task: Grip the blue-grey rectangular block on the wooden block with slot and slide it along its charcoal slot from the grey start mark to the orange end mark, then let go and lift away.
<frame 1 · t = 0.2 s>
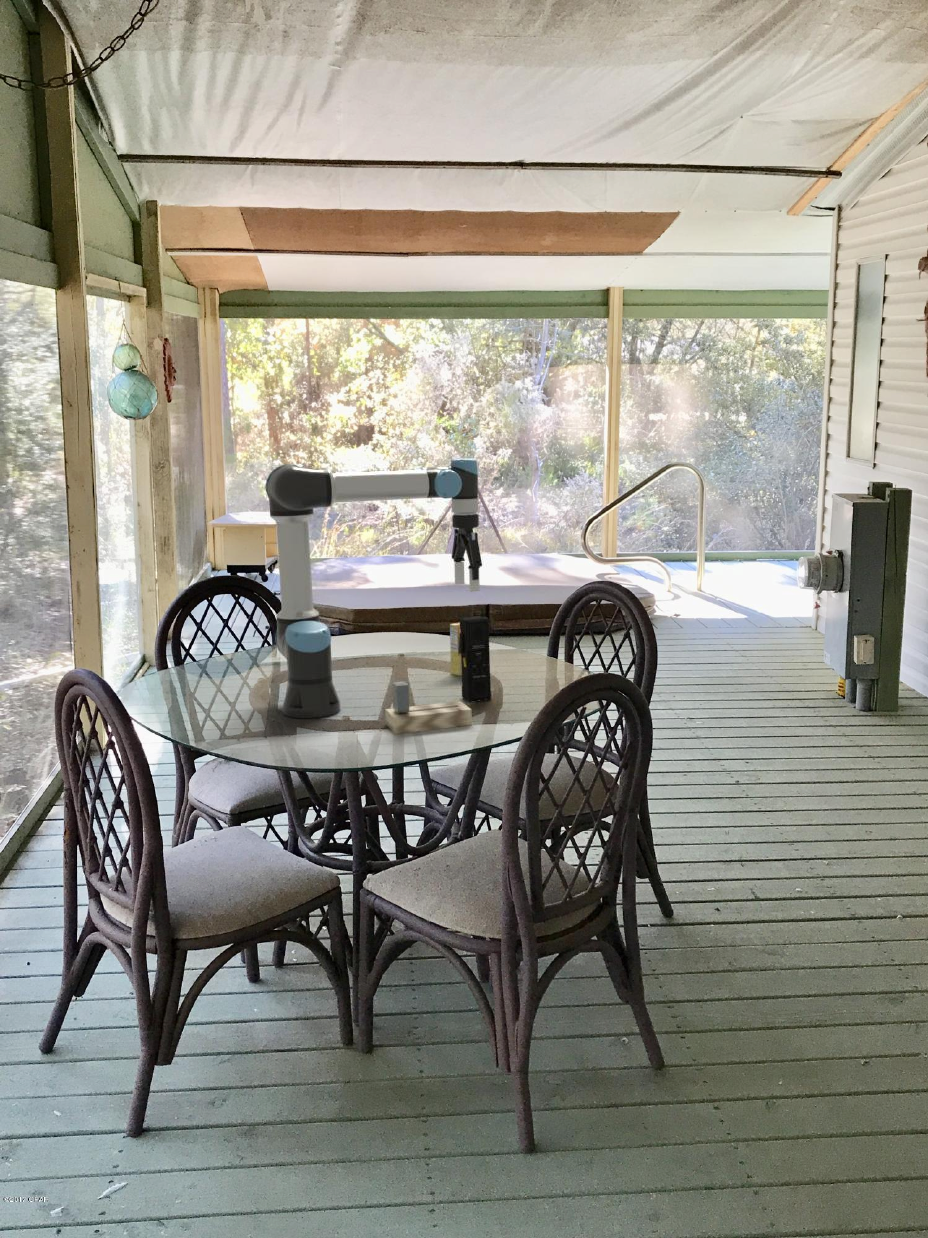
hand: (467, 587, 329), 28 cm above the table, tool pointing down, fingers open, 13 cm apart
portable radio: (474, 700, 315), on the table
wooden block with slot: (428, 724, 292), on the table
blue-grey rectangular block: (401, 697, 288), point 8 cm above the table, slide at -7.0 cm
candy box: (466, 673, 347), on the table
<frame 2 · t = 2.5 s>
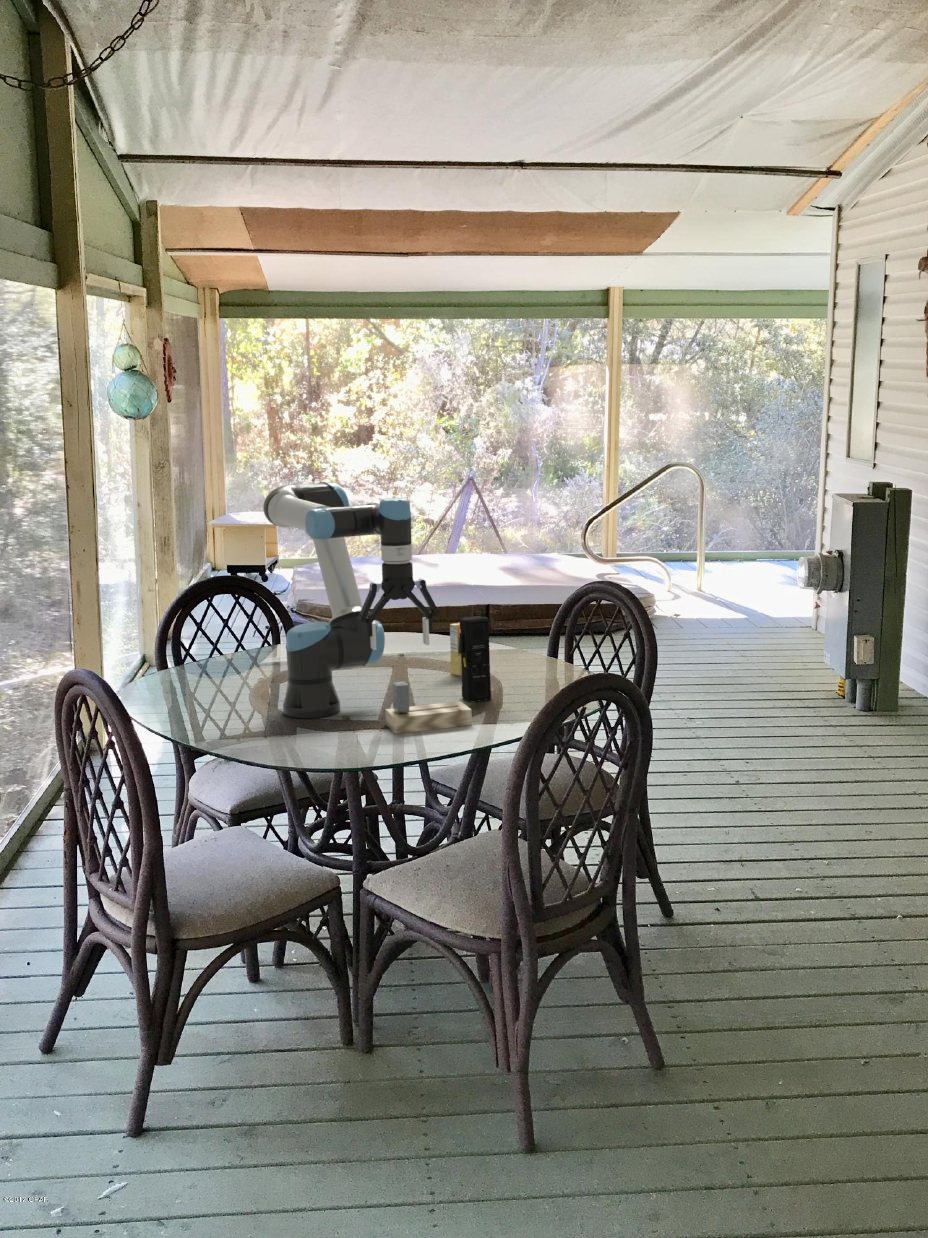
hand: (400, 646, 286), 21 cm above the table, tool pointing down, fingers open, 13 cm apart
nothing on the table moved.
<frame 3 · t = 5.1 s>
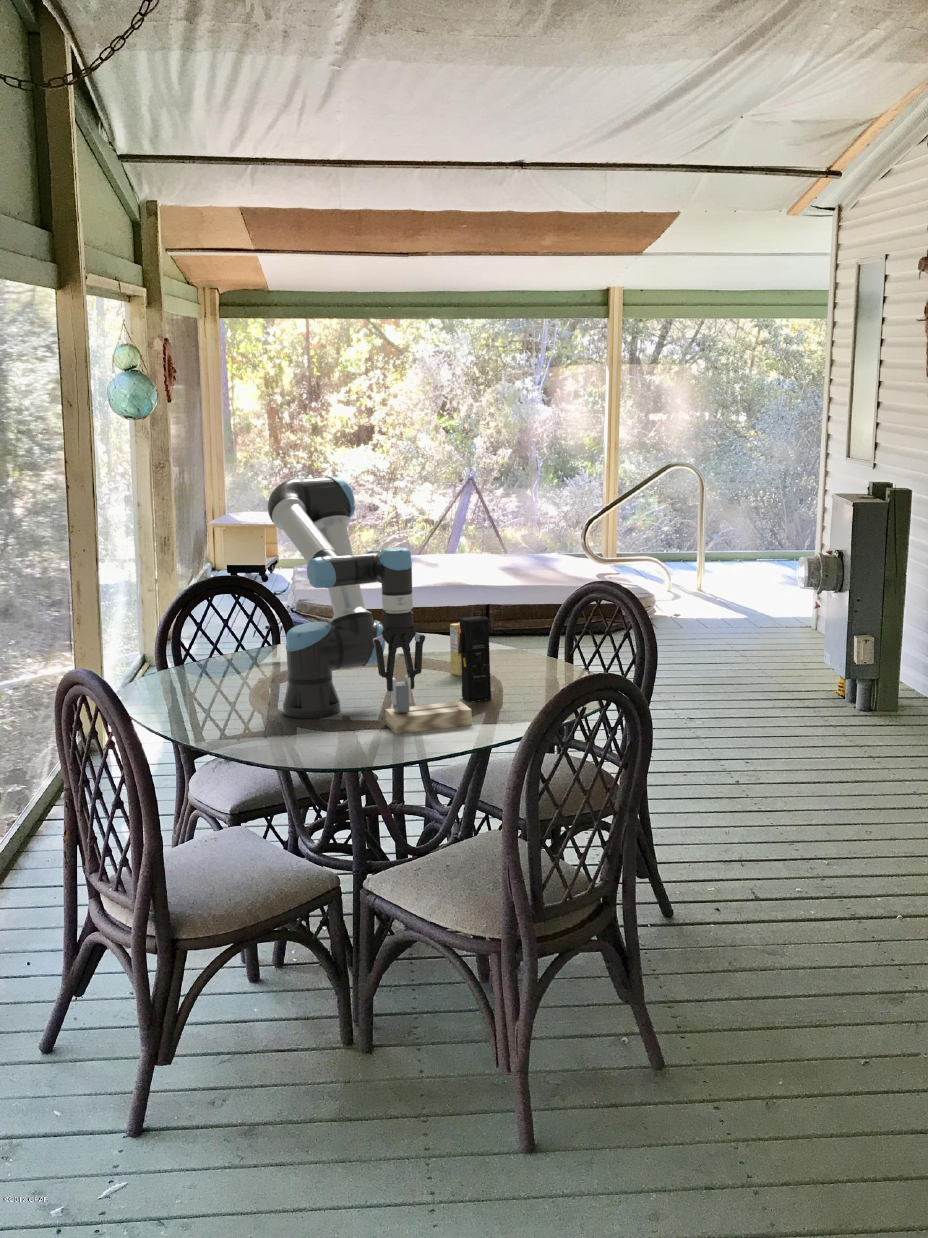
hand: (401, 702, 288), 7 cm above the table, tool pointing down, fingers closed on blue-grey rectangular block, 3 cm apart
blue-grey rectangular block: (401, 697, 288), point 8 cm above the table, slide at -7.0 cm, touching gripper
everything else where it was.
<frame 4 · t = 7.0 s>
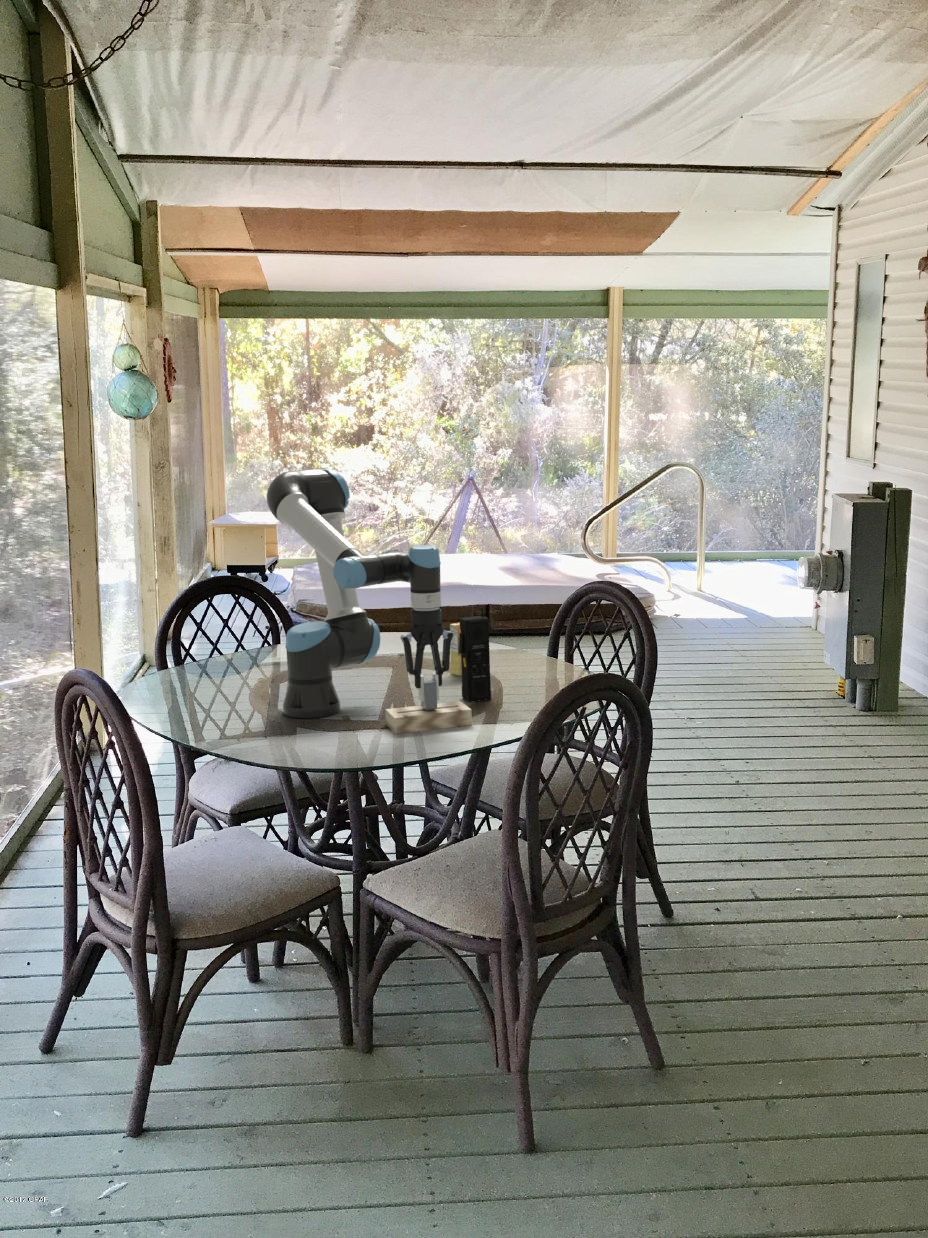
hand: (428, 699, 291), 7 cm above the table, tool pointing down, fingers closed on blue-grey rectangular block, 3 cm apart
blue-grey rectangular block: (428, 694, 290), point 8 cm above the table, slide at 0.3 cm, touching gripper
everything else where it was.
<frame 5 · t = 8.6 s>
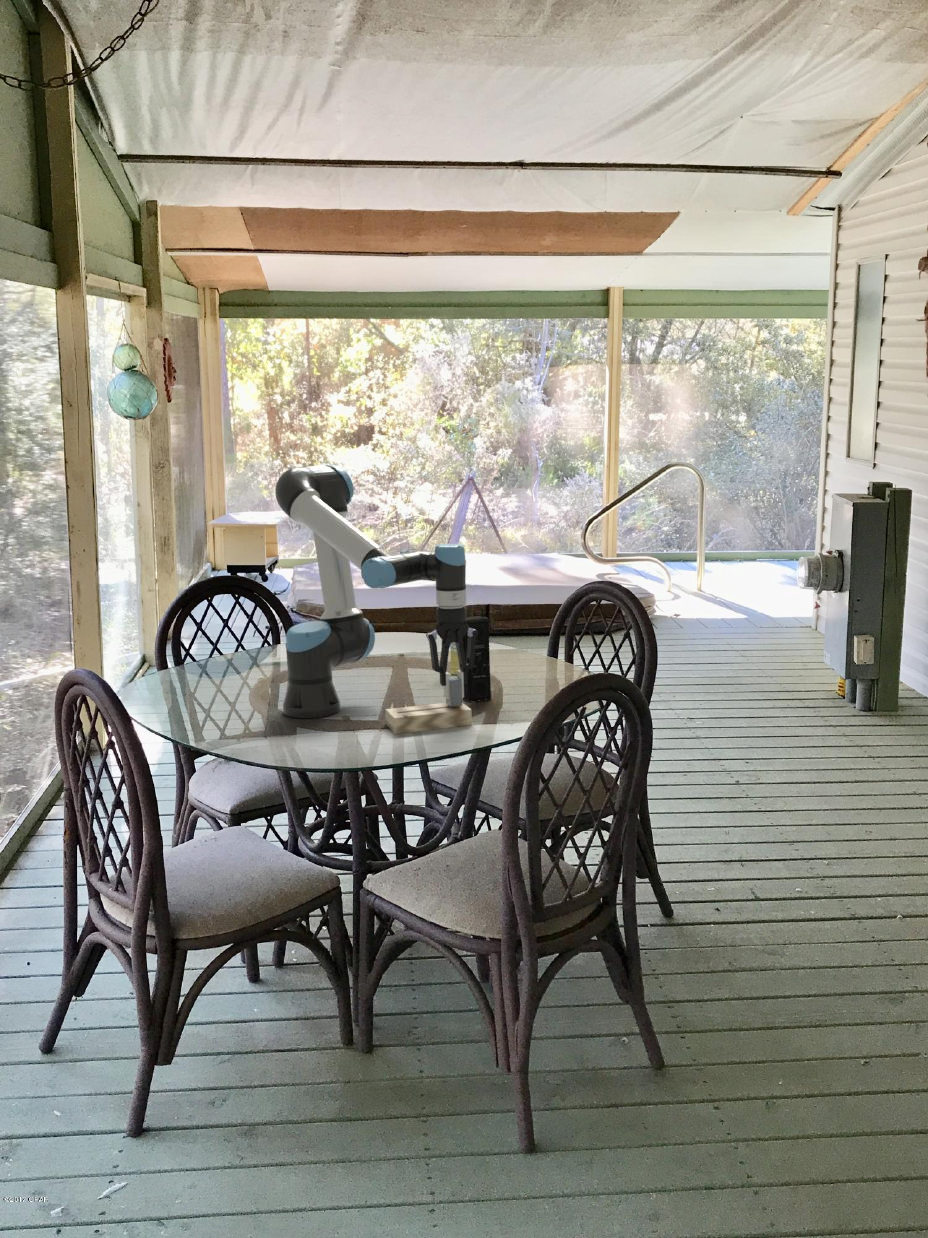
hand: (453, 696, 293), 7 cm above the table, tool pointing down, fingers closed on blue-grey rectangular block, 3 cm apart
blue-grey rectangular block: (453, 691, 292), point 8 cm above the table, slide at 6.9 cm, touching gripper
everything else where it was.
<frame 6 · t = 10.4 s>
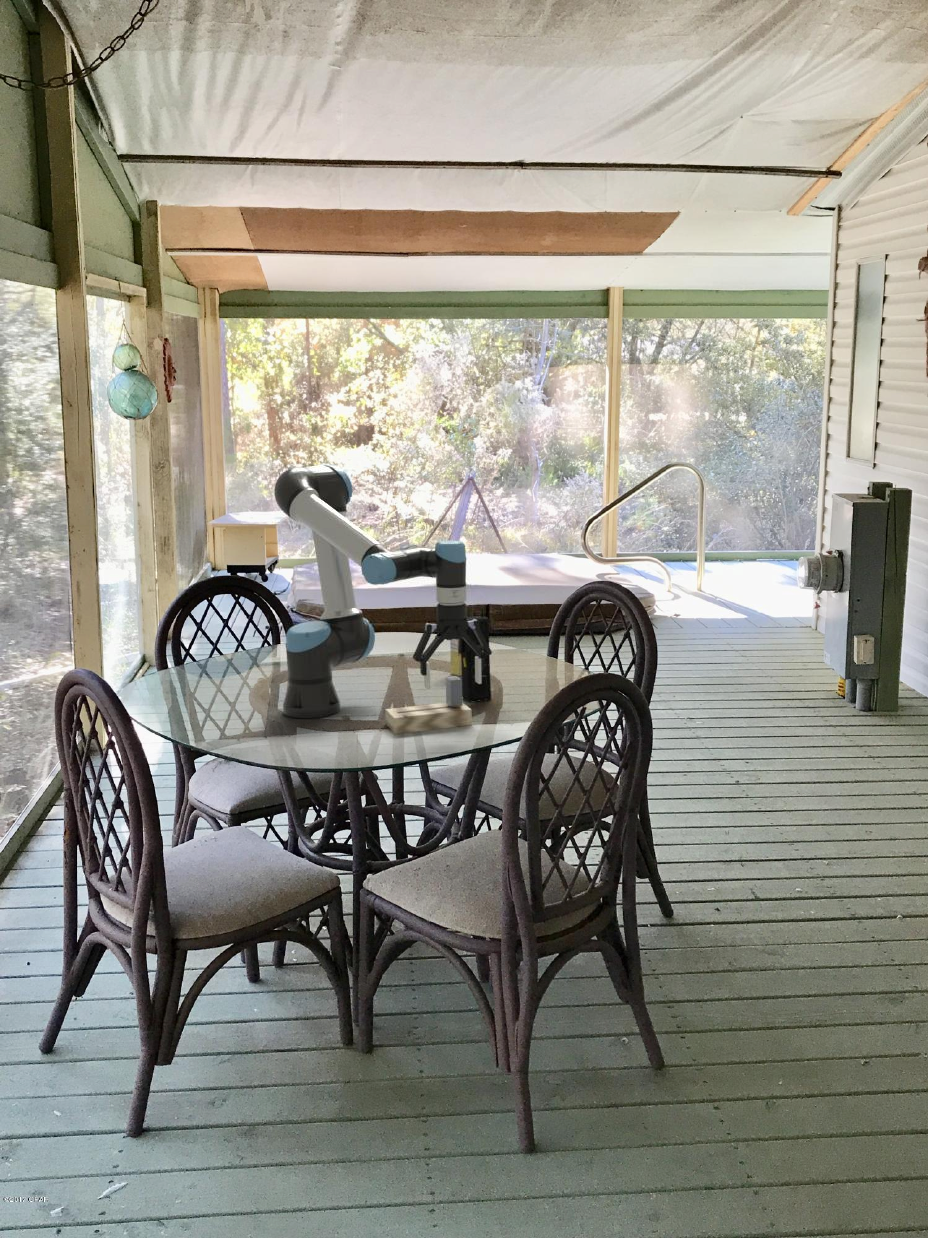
hand: (453, 685, 292), 10 cm above the table, tool pointing down, fingers open, 13 cm apart
blue-grey rectangular block: (454, 691, 292), point 8 cm above the table, slide at 7.0 cm
everything else where it was.
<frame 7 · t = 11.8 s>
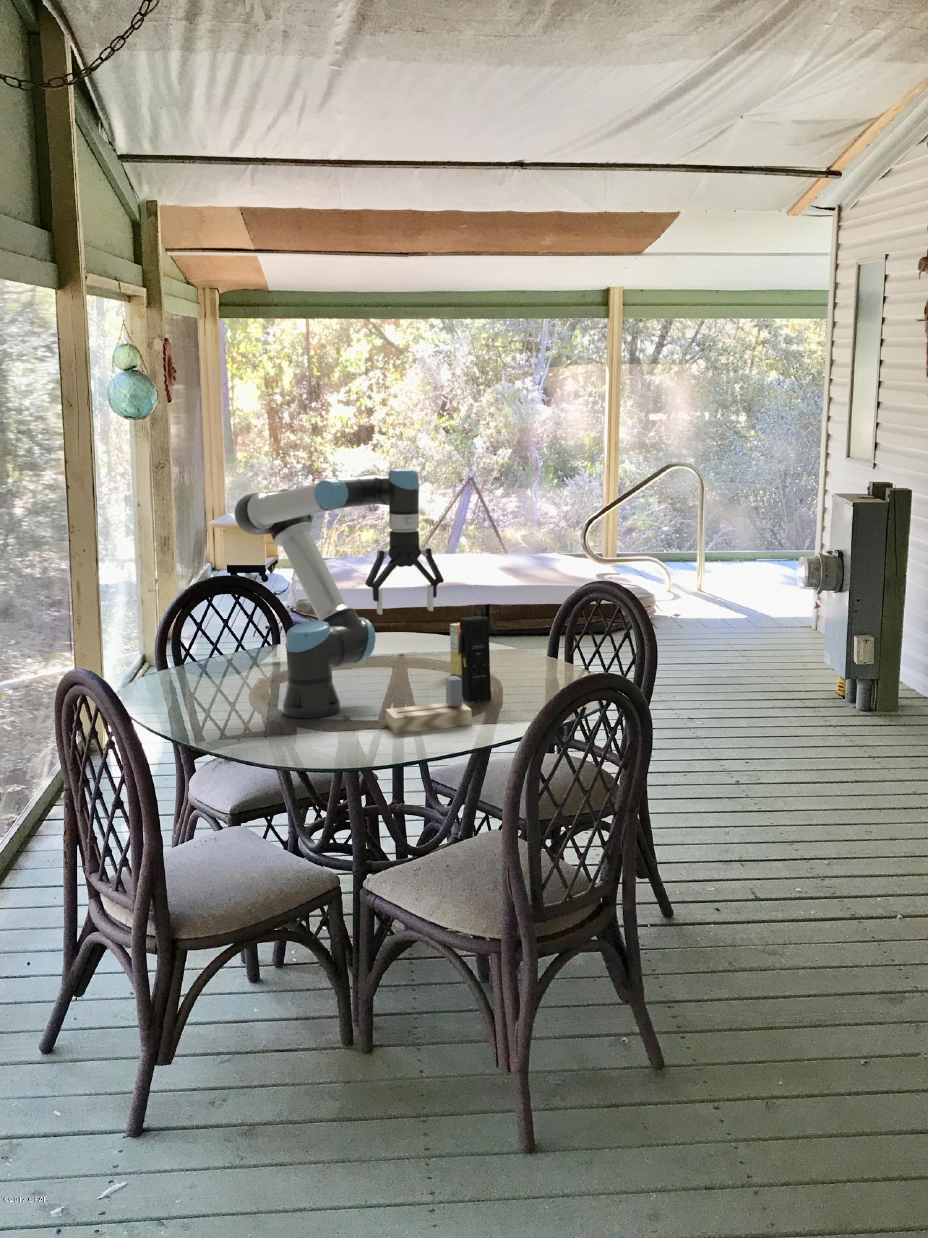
hand: (405, 612, 297), 27 cm above the table, tool pointing down, fingers open, 13 cm apart
nothing on the table moved.
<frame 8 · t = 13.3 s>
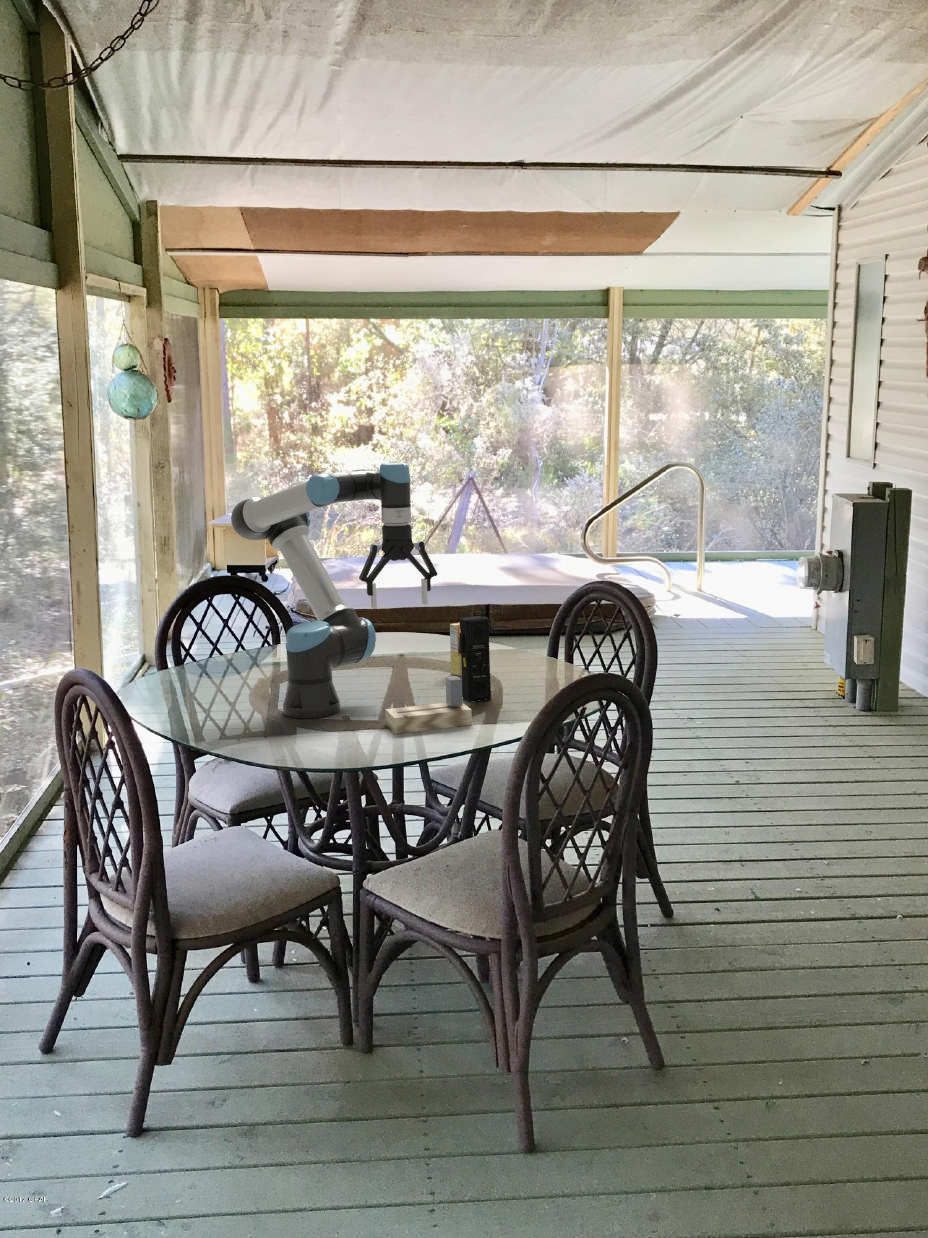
hand: (399, 606, 297), 29 cm above the table, tool pointing down, fingers open, 13 cm apart
nothing on the table moved.
at the end: blue-grey rectangular block slide at 7.0 cm; the gripper is holding nothing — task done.
